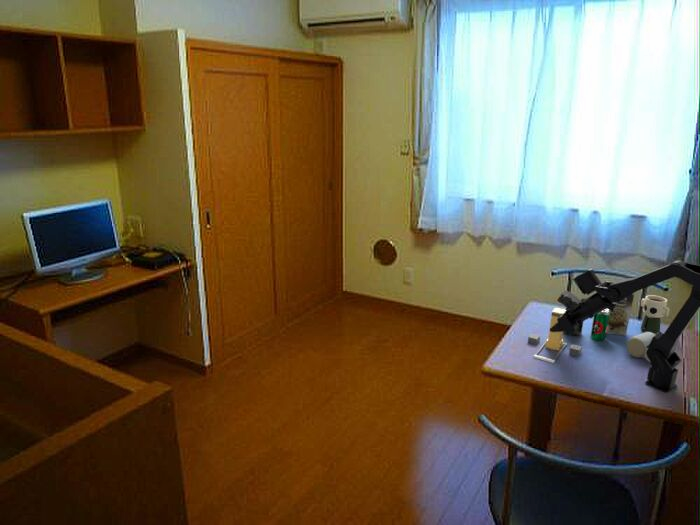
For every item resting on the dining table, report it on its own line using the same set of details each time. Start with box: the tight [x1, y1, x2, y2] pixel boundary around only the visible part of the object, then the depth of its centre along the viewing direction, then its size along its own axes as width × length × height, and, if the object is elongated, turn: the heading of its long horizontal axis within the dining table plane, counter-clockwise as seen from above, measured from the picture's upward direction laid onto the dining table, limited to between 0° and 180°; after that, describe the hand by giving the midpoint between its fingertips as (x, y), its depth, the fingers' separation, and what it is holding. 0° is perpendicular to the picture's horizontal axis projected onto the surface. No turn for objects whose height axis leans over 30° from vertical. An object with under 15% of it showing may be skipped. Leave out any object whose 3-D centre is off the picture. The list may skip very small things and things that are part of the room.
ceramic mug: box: [626, 331, 656, 363], centre depth 178 cm, size 11×8×8 cm
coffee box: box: [607, 293, 635, 336], centre depth 196 cm, size 9×6×16 cm
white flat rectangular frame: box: [527, 333, 583, 364], centre depth 180 cm, size 20×16×3 cm
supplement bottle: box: [563, 322, 584, 337], centre depth 192 cm, size 7×7×12 cm
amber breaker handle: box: [545, 307, 566, 352], centre depth 181 cm, size 4×4×13 cm
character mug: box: [640, 294, 670, 334], centre depth 197 cm, size 11×7×13 cm, turn 25°
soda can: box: [590, 308, 610, 342], centre depth 188 cm, size 5×5×12 cm
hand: (552, 328), depth 182 cm, fingers closed on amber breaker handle, 4 cm apart
